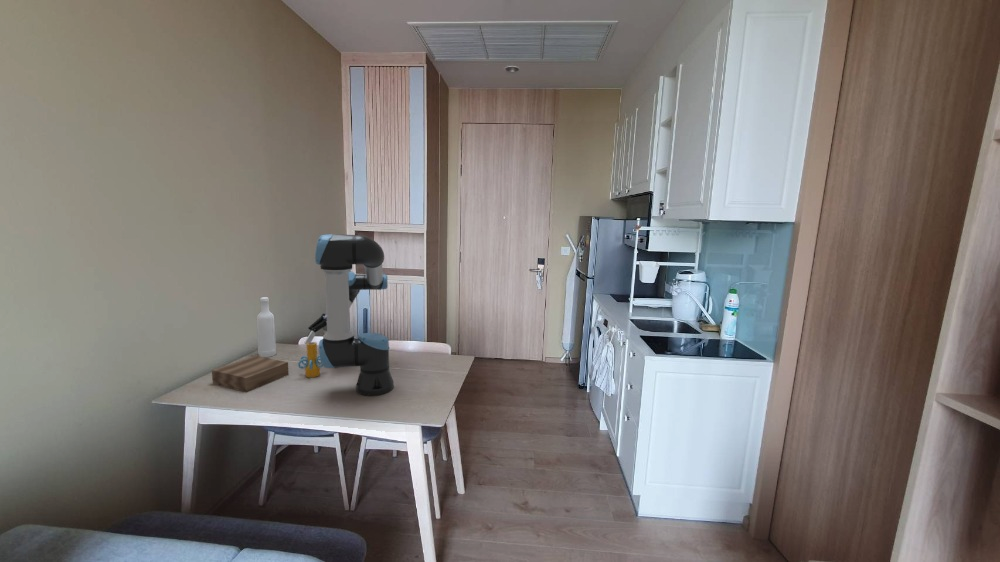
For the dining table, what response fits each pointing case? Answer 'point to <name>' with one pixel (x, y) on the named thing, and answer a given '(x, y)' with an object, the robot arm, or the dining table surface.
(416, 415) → the dining table surface
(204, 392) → the dining table surface
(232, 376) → the walnut block
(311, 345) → the yellow tube with loops
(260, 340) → the bottle
